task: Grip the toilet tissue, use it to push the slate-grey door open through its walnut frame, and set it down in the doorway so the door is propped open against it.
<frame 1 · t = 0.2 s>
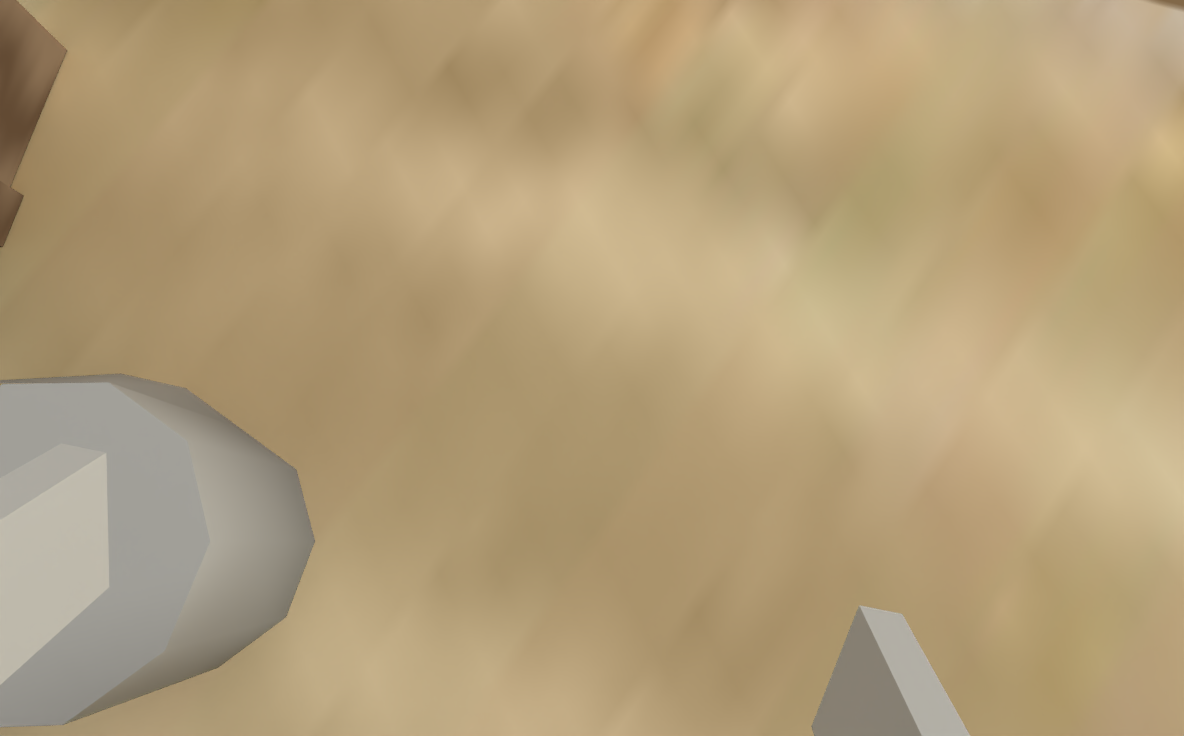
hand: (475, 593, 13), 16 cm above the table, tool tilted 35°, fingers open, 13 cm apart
toilet tissue: (179, 512, 28), on the table
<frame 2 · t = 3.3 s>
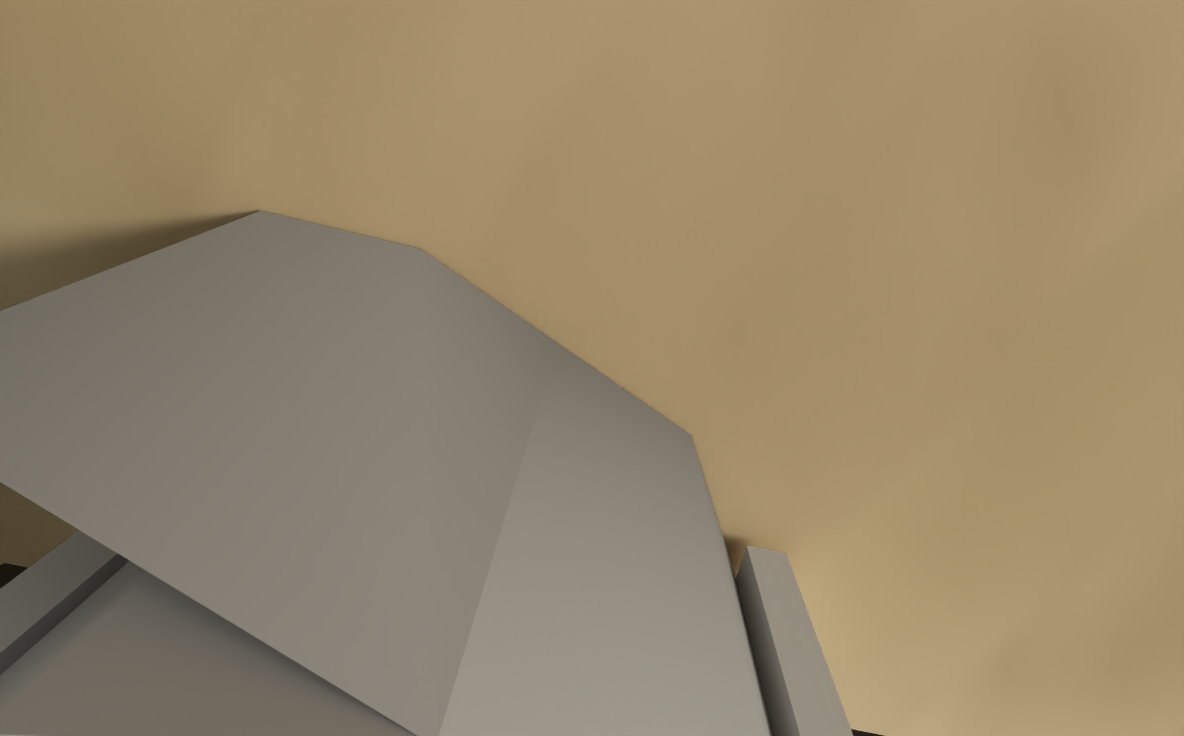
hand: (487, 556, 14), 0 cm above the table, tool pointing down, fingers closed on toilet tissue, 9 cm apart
toilet tissue: (453, 503, 14), on the table, touching gripper
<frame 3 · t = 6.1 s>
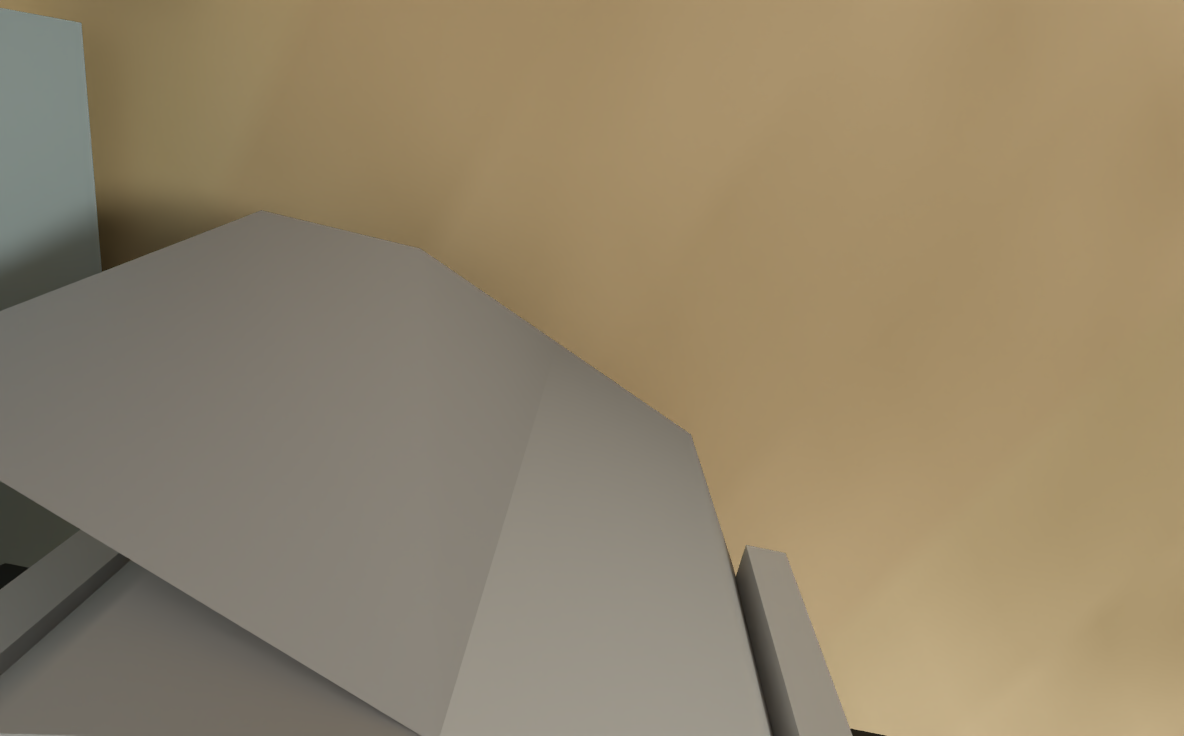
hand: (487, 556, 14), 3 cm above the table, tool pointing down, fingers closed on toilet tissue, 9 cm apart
toilet tissue: (453, 503, 14), point 2 cm above the table, touching gripper
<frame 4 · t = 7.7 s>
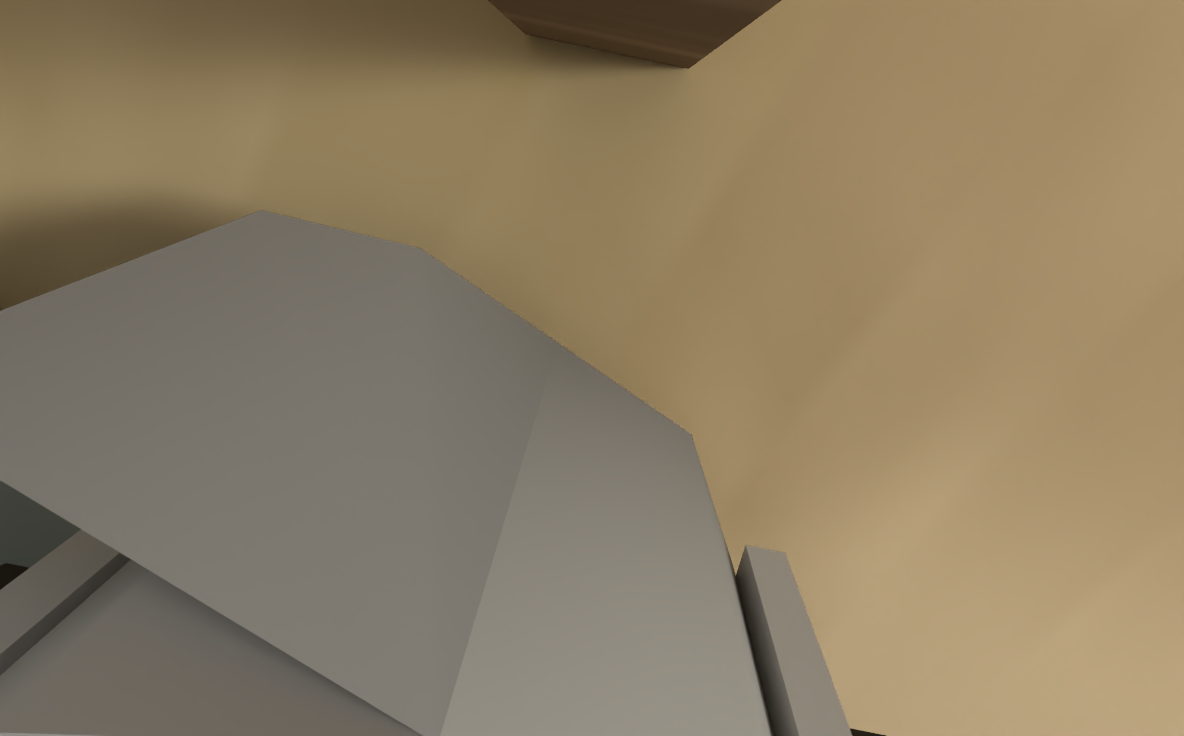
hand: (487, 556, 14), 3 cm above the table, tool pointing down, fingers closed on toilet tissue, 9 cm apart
toilet tissue: (454, 503, 14), point 2 cm above the table, touching gripper
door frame: (506, 589, 17), on the table
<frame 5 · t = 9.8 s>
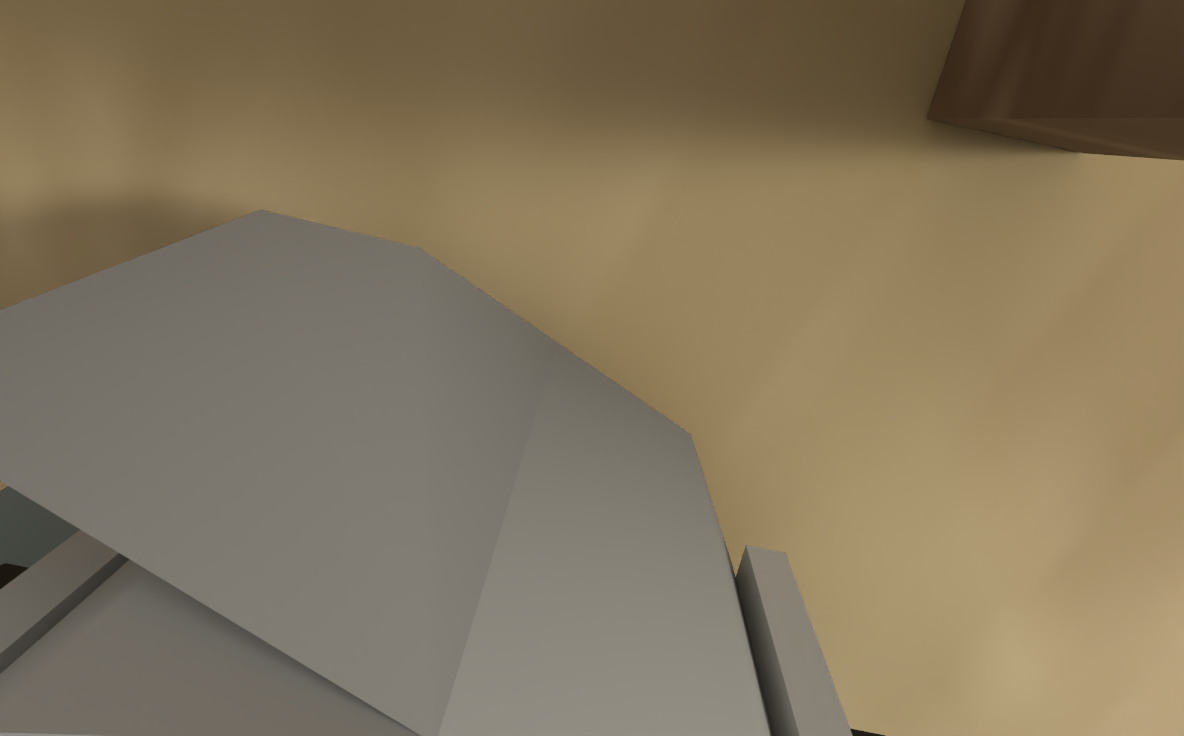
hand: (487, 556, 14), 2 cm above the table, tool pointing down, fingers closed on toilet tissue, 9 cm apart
toilet tissue: (453, 502, 14), point 2 cm above the table, touching gripper
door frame: (812, 650, 17), on the table
when the fingers open (2 cm above the table, at t = 11.2 s): toilet tissue drops 2 cm, on the table.
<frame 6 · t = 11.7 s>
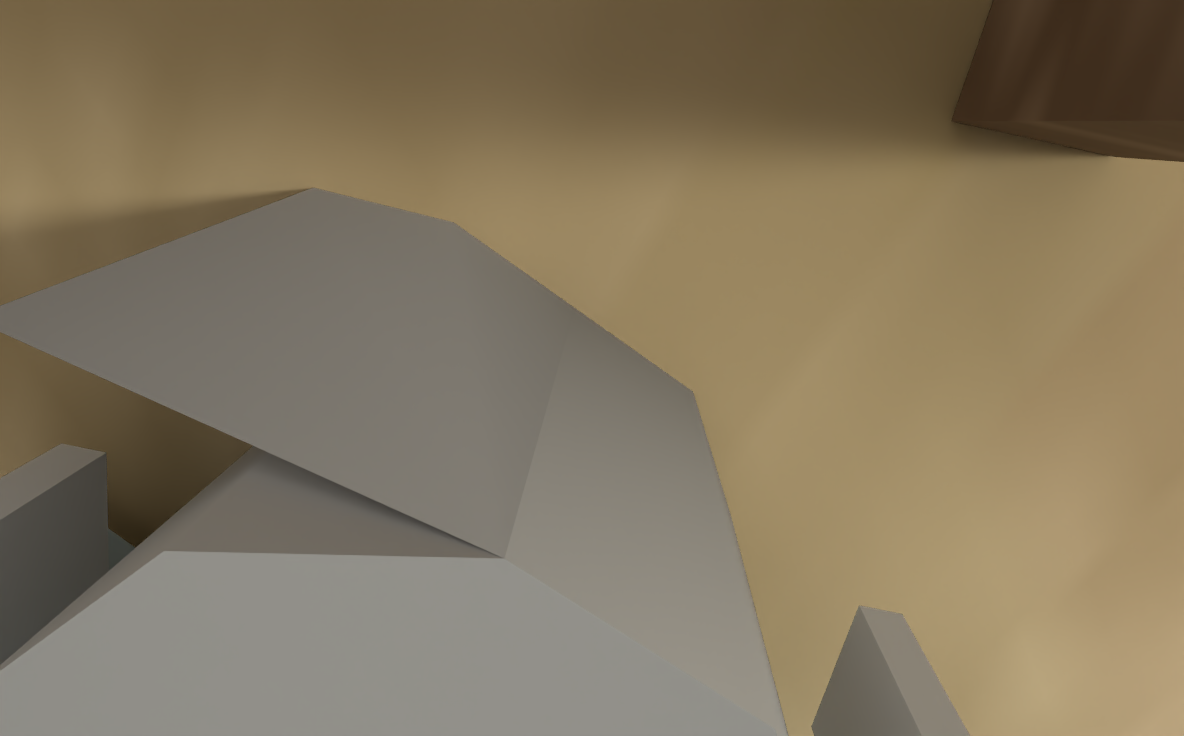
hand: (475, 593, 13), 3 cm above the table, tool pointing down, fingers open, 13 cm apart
toilet tissue: (479, 454, 16), on the table
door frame: (828, 665, 17), on the table
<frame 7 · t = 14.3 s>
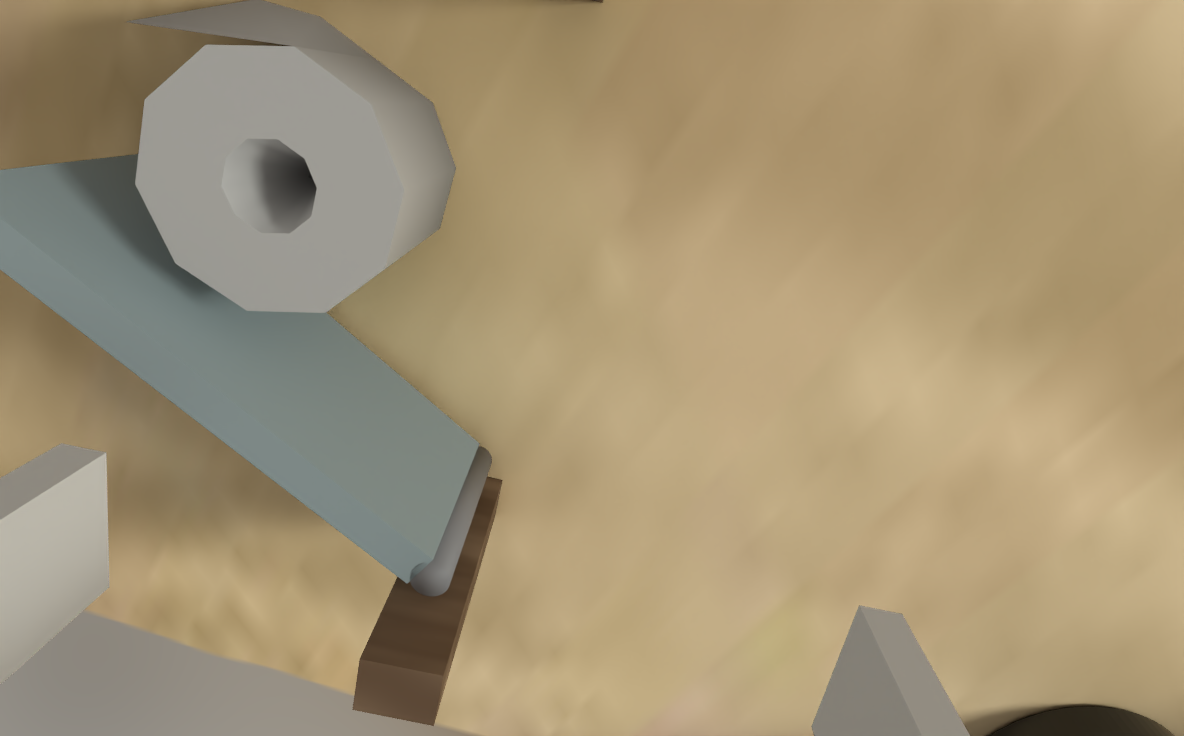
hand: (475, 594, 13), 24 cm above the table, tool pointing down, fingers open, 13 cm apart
toilet tissue: (338, 137, 33), on the table
door: (265, 376, 31), point 6 cm above the table, hinge at 58.5°
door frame: (515, 262, 34), on the table
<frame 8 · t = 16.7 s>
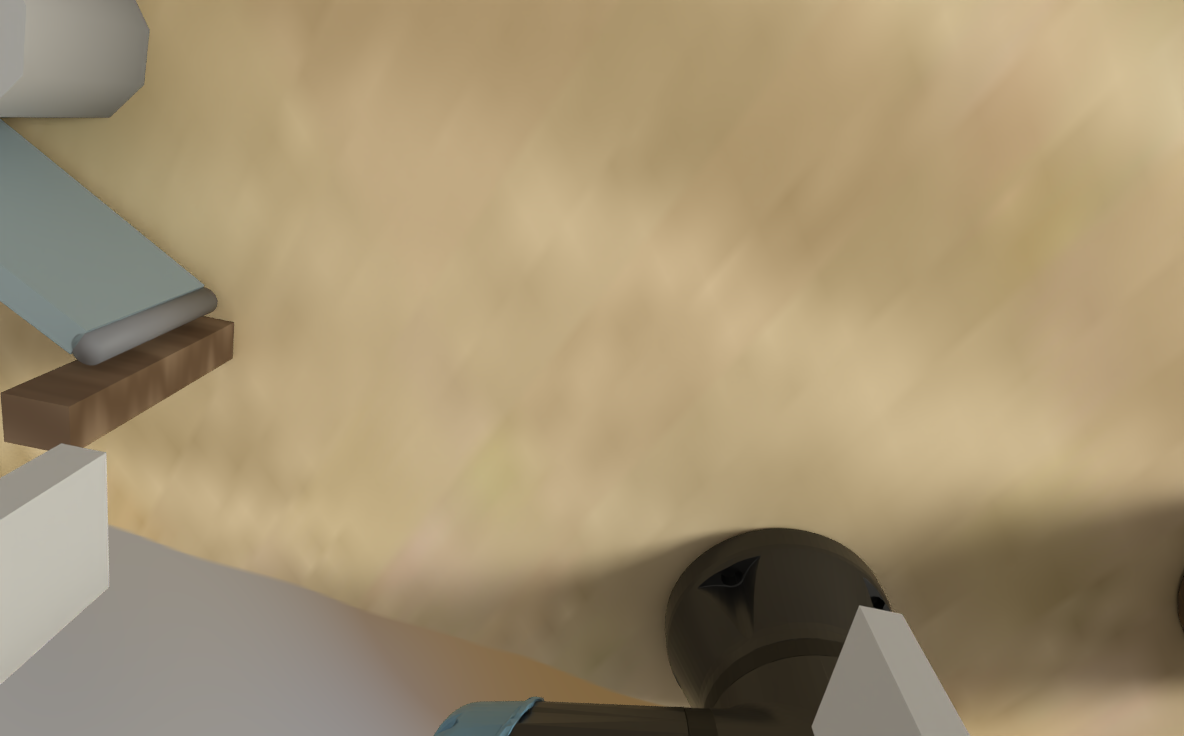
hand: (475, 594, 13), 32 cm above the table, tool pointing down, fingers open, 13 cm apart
toilet tissue: (52, 7, 40), on the table
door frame: (215, 120, 41), on the table
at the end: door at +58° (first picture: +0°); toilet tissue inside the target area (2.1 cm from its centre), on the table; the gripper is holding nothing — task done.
